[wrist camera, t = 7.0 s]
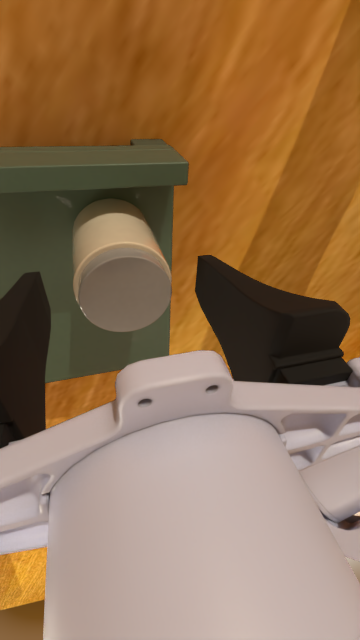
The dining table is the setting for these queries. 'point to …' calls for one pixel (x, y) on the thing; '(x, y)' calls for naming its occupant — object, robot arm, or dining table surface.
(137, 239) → the salt shaker
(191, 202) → the dining table surface
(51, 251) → the shelf
